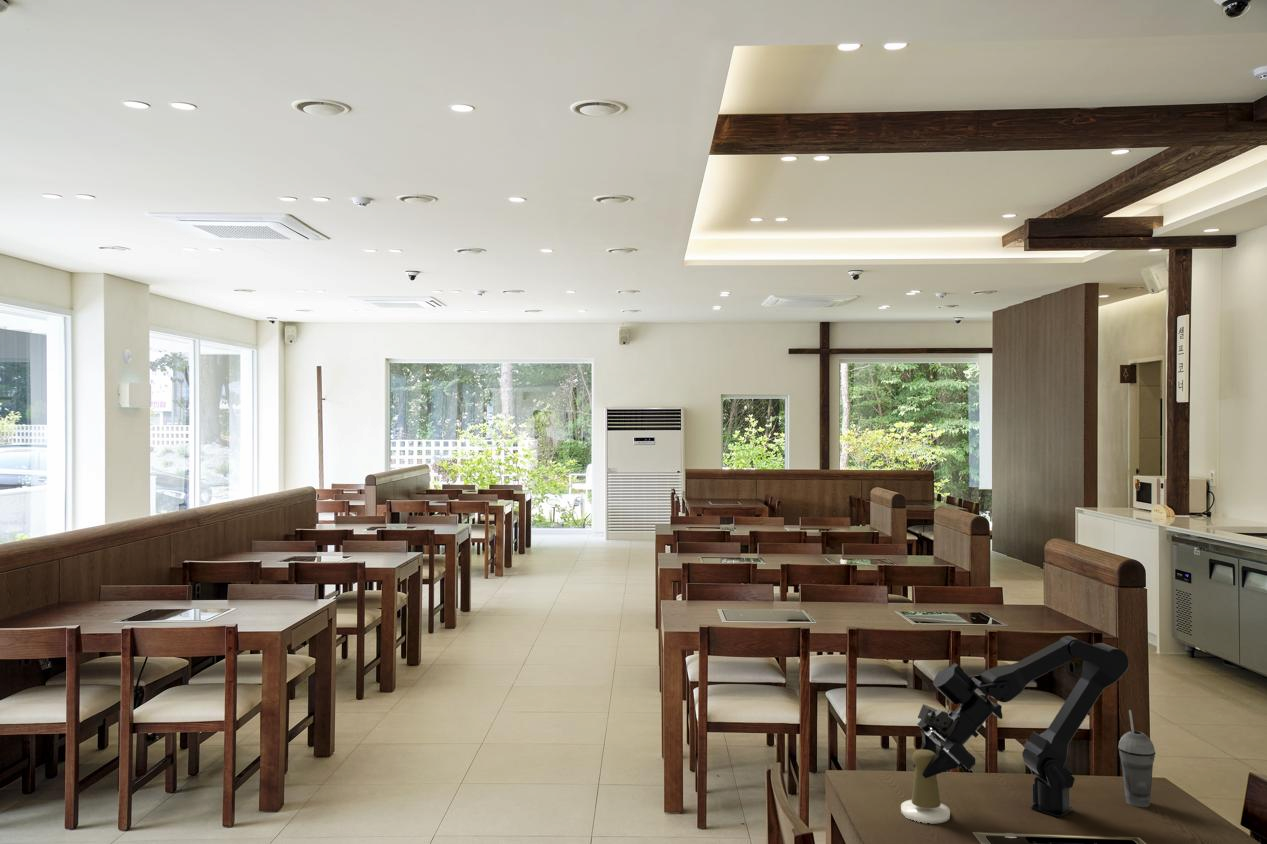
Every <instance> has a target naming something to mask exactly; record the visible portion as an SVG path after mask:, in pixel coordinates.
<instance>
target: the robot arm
mask: <svg viewBox="0 0 1267 844" xmlns="http://www.w3.org/2000/svg"><path fill="white" fill-rule="evenodd" d="M1077 658H1078V659H1080V660H1083V661H1082V669H1081V677H1080V678H1079V679H1078V681H1077V683H1076V684H1075V686H1074V687H1073V689H1072V690H1071V692H1070V694H1069V695H1068V697H1067V698H1066V699H1065V701H1064V703H1063V705H1062V706H1061V707H1060V709H1059V711H1058V712H1057V713H1056V715H1055V717H1054V719H1053V720H1052V721H1051V723H1050V725H1049V726H1048V728H1047V729H1046V730H1044V731H1043V732H1042V733H1040V734H1039V733H1037V732H1036V731H1032V733H1030V736H1029V738H1028V740H1027V741H1026V742H1025V743H1024V744H1022V747H1023V751H1022V754H1021V755H1022V759H1023V763H1024V764H1025V765H1026V766H1027V767H1028V768H1029V770H1030V772H1031V774H1032V775H1033V776H1035V777H1034V778H1033V784H1032V787H1031V788H1032V790H1031V791H1032V803H1033V804H1032V805H1030V809H1031V808H1032V810H1034V809H1035V811H1037V810H1038V811H1037V812H1040V811H1041V812H1040V813H1044V814H1046V815H1047V814H1048V815H1049V816H1053V817H1055V818H1061V817H1062V818H1063V816H1065V815H1067V814H1069V813H1071V812H1073V811H1074V807H1073V806H1070V803H1071V802H1070V789H1071V788H1073V785H1074V783H1075V781H1076V778H1075V777H1074V776H1073V775H1072V774H1071V772H1069V771H1068V770H1067V769H1066V768H1065V766H1066V763H1067V760H1068V753H1069V752H1068V751H1069V744H1070V743H1071V741H1072V739H1073V738H1074V736H1075V735H1076V733H1077V731H1079V729H1080V726H1081V725H1082V724H1083V722H1084V721H1085V719H1086V717H1087V716H1088V715H1089V713H1090V711H1091V710H1092V708H1093V707H1094V705H1095V703H1096V702H1097V700H1098V699H1099V697H1100V695H1102V693H1103V691H1104V690H1105V689H1106V688H1108V687H1110V686H1111V685H1113V684H1114V683H1116V682H1118V681H1119V680H1120V679H1121V678H1122V676H1123V675H1124V674H1125V673H1126V672H1127V670H1129V666H1130V662H1129V658H1128V656H1127V654H1126V653H1125V651H1123V650H1121V649H1119V648H1117V647H1114V646H1112V645H1109V644H1106V643H1103V642H1097V643H1089V642H1085V641H1083V640H1081V639H1079V638H1076V637H1073V636H1071V635H1065V636H1062V637H1060V638H1059V640H1058V641H1056V642H1054V643H1052V644H1049V645H1047V646H1046V647H1044V648H1041V649H1039V650H1038V651H1036V652H1034V653H1032V654H1030V655H1028V656H1027V657H1025V658H1023V659H1021V660H1019V661H1017V662H1014V663H1010V664H1003V665H997V666H994V667H992V668H989V669H986V670H984V671H983V672H982V673H981V674H977V675H972V676H971V675H970V676H969V675H968V674H967V673H966V672H965V671H964V669H963V668H962V667H961V665H959V664H957V663H955V662H954V663H952V665H951V666H947V667H945V668H944V669H943V670H939V672H938V673H937V674H936V676H934V679H933V682H932V683H933V684H932V685H933V686H934V687H935V688H936V689H937V690H938V691H939V692H940V693H941V694H942V695H943V696H944V697H945V698H946V699H947V700H948V701H949V702H951V704H952V705H958V704H959V706H958V707H957V708H956V709H955V710H954V711H953V710H952V709H948V710H947V711H945V710H944V711H943V710H942V709H940V708H938V709H936V708H934V707H931V706H929V705H928V704H924V703H923V704H922V706H921V708H920V711H919V713H918V715H917V719H918V720H919V719H920V721H918V723H917V727H919V728H920V729H921V730H920V734H921V737H922V738H921V739H922V743H921V746H920V748H919V750H921V749H924V750H930V751H933V752H934V753H935V754H936V755H935V756H934V757H933V759H932V760H931V762H930V763H929V764H928V766H927V767H926V768H925V770H924V772H923V773H922V775H923V776H924V777H925V778H928V777H931V776H934V775H936V776H937V775H939V774H941V773H944V772H948V771H950V770H951V771H952V770H954V769H958V768H959V769H961V768H962V766H963V767H964V768H965V769H966V770H968V771H969V772H970V771H971V770H972V769H973V768H974V767H975V766H976V758H975V757H974V755H973V754H971V753H970V752H969V751H968V750H967V748H966V747H965V746H964V745H965V744H967V742H968V741H969V740H970V739H971V738H972V737H974V738H977V737H978V736H979V735H980V733H978V732H977V731H978V730H979V729H980V728H981V727H982V726H983V725H984V723H985V722H986V721H987V720H988V719H989V718H990V717H991V715H992V714H993V716H995V717H997V718H998V719H1000V720H1001V719H1003V713H1002V709H1003V707H1002V705H1001V704H999V703H997V702H992V700H990V699H989V697H991V698H992V699H994V700H995V701H998V702H1001V703H1008V702H1011V701H1012V700H1013V699H1015V698H1016V697H1017V696H1019V695H1020V694H1021V693H1022V692H1023V691H1024V689H1025V688H1026V686H1027V685H1028V684H1029V683H1031V682H1032V681H1035V680H1037V679H1038V678H1040V677H1042V676H1044V675H1046V674H1048V673H1050V672H1051V671H1054V670H1055V669H1057V668H1059V667H1061V666H1064V665H1065V664H1067V663H1069V662H1071V661H1072V660H1075V659H1077ZM976 691H978V692H980V693H982V694H978V693H977V692H976ZM988 696H989V697H988ZM960 764H962V766H961V765H960ZM912 767H913V768H914V769H915V765H914V764H913V763H912Z"/></svg>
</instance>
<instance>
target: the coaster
mask: <svg viewBox="0 0 1267 844" xmlns="http://www.w3.org/2000/svg"><path fill="white" fill-rule="evenodd" d="M911 800H912V799H908V800H905V801H903V802H902V803H901V804H900V814H903V815H904V816H905V818H906V819H908V820H910V819H911V820H910V821H912V820H914V821H913V822H916V821H917V822H916V823H920V822H922V823H921V824H927V823H930V825H935V824H942V823H946V822H948V821H950V819H951V818H950V817H951V811H950V808H949V807H948V806H947V805H946V804H944V803H941V805H940V806H939V807H937V808H922V807H918V806H916V805H914V804H913V803H912V801H911ZM903 815H902V816H903ZM904 816H903V817H904Z"/></svg>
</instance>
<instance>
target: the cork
mask: <svg viewBox="0 0 1267 844" xmlns="http://www.w3.org/2000/svg"><path fill="white" fill-rule="evenodd" d="M935 755H936V754H935V753H934V752H933V751H930V750H924V749H921V750H920V749H917V750H915V751H914V752H913V753H912V765H913V764H914V765H915V768H914V774H913V783H912V793H911V799H910V800H911V801H912V803H913V804H914V805H916V806H918V807H922V808H937V807H939V806H940V805H941V804H942V803H941V796H940V791H939V783H938V778H937V774H936V775H934V776H931V777H928V778H925V777H924V776H923V775H922V773H923V772H924V770H925V768H926V767H927V766H928V764H929V763H930V762H931V760H932V759H933V757H934V756H935Z"/></svg>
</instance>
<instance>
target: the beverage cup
mask: <svg viewBox="0 0 1267 844" xmlns="http://www.w3.org/2000/svg"><path fill="white" fill-rule="evenodd" d="M1128 714H1129V715H1128V716H1129V721H1130V722H1129V723H1130V728H1131V731H1127V732H1125V733H1124V734H1123V735H1122V736H1121V737H1120V740H1119V741H1118V746H1117V749H1118V753H1119V758H1120V761H1121V762H1120V763H1121V772H1122V779H1123V786H1124V787H1123V788H1124V795H1125V802H1126V803H1127V804H1128V805H1130V806H1133V807H1137V808H1138V807H1139V808H1148V807H1150V802H1151V798H1152V797H1151V795H1152V783H1153V781H1152V780H1153V769H1154V762H1155V757H1156V754H1157V753H1156V750H1155V746H1154V744H1153V742H1152V740H1151V739H1150V738H1149V736H1148V735H1146V734H1145V733H1143V732H1141V731H1137V730H1135V729H1134V728H1135V726H1134V721H1133V720H1134V719H1133V713H1132V710H1131V709H1129V710H1128Z"/></svg>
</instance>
